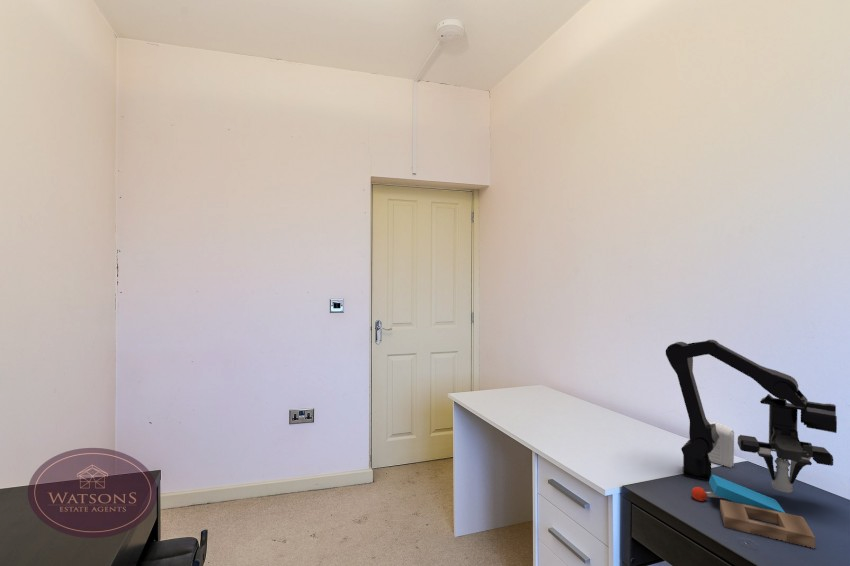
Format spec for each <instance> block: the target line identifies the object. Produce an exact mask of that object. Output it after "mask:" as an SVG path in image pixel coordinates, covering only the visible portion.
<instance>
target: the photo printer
mask: <svg viewBox="0 0 850 566" xmlns="http://www.w3.org/2000/svg"><path fill="white" fill-rule="evenodd" d="M708 422H709V423H710V424H715V425H716V432H717V434H718V435H719V439H718V442H717V444H716V446H715V447H714V449H713V450H712V451H711V452H710V453H708V456H709V459H710V461H711V463H715V464H718V465H721V466H723V465H724V466H723V467H727V468H733V467H734V464H735V463H734V459H735V456H734V455H735V431H734V430H733V429H732V428H731V427H729V426H726V425H724V424H721V423H718V422H714V421H709V420H708ZM732 466H733V467H732Z"/></svg>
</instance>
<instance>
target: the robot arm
mask: <svg viewBox="0 0 850 566" xmlns="http://www.w3.org/2000/svg"><path fill="white" fill-rule="evenodd" d="M706 355H709V356H712V358H715V359H717V360H718V361H721V362H722V363H724V364H725V365H728V366H729V367H731V368H733V369H735V370H737V371H738V372H740V373H742V374H743V375H745V376H747V377H749V378H751V379H752V380H754V381H755V382H756V383H757V384H758V385H759V386H761V388H763V390H765V391H766V392H768V393H769V394H766V396H764V397H762V398H761V399H760V404H763V405H768V406H769V409H768V410H769V411H768V412H769V413H768V415H769V416H768V418H769V419H768V442H763V441H758V439H757V438H756V437H755V436H750V435H744V434H743V435H742V434H740V435H738V436H737V445H738V447H739V450H740V451H742V452H748V453H753V454H757V456H758V457H760V458H763V460H764V462H765V464H766V467H767V470H768V473H769V475H770V478H771V481H772V480H774V478H775V475H776V473H775V469H774V468H775V467H774V457H773V455H772V452H775V454H776V458H780V459H782V460H789V461H790V464H791V465H790V466H789V480H790V481H791V482H790V483H791V484H792V485H793V484H794V483H795V481H796V480H797V477H798V475H799V473H800V471H801V470H802V469H803V468H804V467H805V466H811V465H812V464H813V463H812V461H814V462H815V463H816V464H818V465H819V464H820V465H824V466H829V467H830V466H834V457H833V455H832V454H831V452H829V451H828V450H827V449H826V448H825V447H823V446H817V445H813V444H812V443H811V442H807V441H801V440H800V439H799V431H798V414H799V413H798V410H799V411H800V423H802V424H803V425H804V426H805V427H806V428H808V429H813V430H819V431H824V432H828V433H832V434H833V433H834V434H837V430H838V428H837V425H838V420H837V418H838V417H837V414H836V413H837V406H836V404H834V403H833V404H831V403H820V402H813V401H808V399H807V397H806V396H805V395H804V394H803V392H801V390H800V389H799V383H798V381H797V380H796V379H795V378H794V376H791V375H789V374H787V373H784V372H781V371H778V370H775V369H772V368H768V367H766V366H762V365H760V364H758V363H756V362H755V361H753V360H751V359H750V358H747V357H745V356H743V355H741V354H740V353H737V352H736V351H734V350H732V349H730V348H728V347H726V346H724V345H722V344H721V343H719V342H718V341H717V340H715V339H707V340H703V341H696V342H695V341H694V342H691V343H690V342H689V343H686V342H684V341H676V342H674V343H671V344H670V345H668V346H667V347H666V349H665V356H666V358H667V360H668V362H669V363H668V364H670V366H671V367H672V369H673V370H674V372H675V373H676V376H677V379H678V383H679V387H680V390H681V394H682V395H681V396H682V397H683V402H684V405H685V409H686V413H687V415H688V421H689V428H688V429H689V430H688V431H689V433H688V434H689V435H688V436H689V440H688V441H686V442H685V443H684V444H683V446H682V447H681V449H680V450H681V452H682V455H683V456H682V459H683V461H682V474H683V475H682V476H684V477H689V478H693V479H700V480H704V481H707V482H709V480H710V477H711V475H712V462H711V461H710V459H709V456H708V453H710V452H711V451H712V450H713V449H714V447H715V446H716V444H717V442H718V439H719V435H718V434H717V432H716V425H715V424H710V423H709V422H710V421H709V420H708V418H707V417H706V415H705V410H704V406H703V404H702V403H703V402H702V399H701V397H700V393H699V388H698V386H697V382H696V379H695V375H694V372H693V371H694V370H693V368H694V367H693V366H694V357H695V358H696V357H701V356H706ZM708 421H709V422H708ZM811 459H812V461H811Z"/></svg>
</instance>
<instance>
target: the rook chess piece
mask: <svg viewBox="0 0 850 566" xmlns="http://www.w3.org/2000/svg"><path fill="white" fill-rule="evenodd" d="M774 463H775V464H776V465H775V469H776V470H775V471H776V472H775V478H774V480H772V479H771V487H772V488H773V489H774V490H776V491H778V492H782V493H786V494H787V493H788V494H790V493H792V492H793V491H794V489H793V487H794V486H793V484H791V483H790V482H791V481H790V474H789V472H790V465H791V462H790V460H782V459H780V458H778V457H776V459H775V460H774Z"/></svg>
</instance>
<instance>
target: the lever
mask: <svg viewBox="0 0 850 566" xmlns="http://www.w3.org/2000/svg"><path fill="white" fill-rule="evenodd" d="M709 478H710V480H709V481H708V483H709V486H710V488H711V489H712V491H705V489H704V488H703V487H700V486H695V487H693V488H692V489H691V496H692V497H693V498H694V500H696V501H698V502H704V501H706V499H707V498H719V499H724V500H727V501H731V502H736V503H740V504H745V505H750V506H754V507H759V508H764V509H768V510H773V511H778V512H782V513H786V512H785V510H784V509H783V507H782V506H781V505H780V504H779V502H778V501H777V500H776V499H775V498H772V497H770V496H767V495H765V494H763V493H759V492H757V491H755V490H752V489H750V488H748V487H745V486H742V485H740V484H738V483H735V482H733V481H730V480H727V479H725V478H723V477H721V476H718V475H716V474H713V473H711V477H709Z"/></svg>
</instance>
